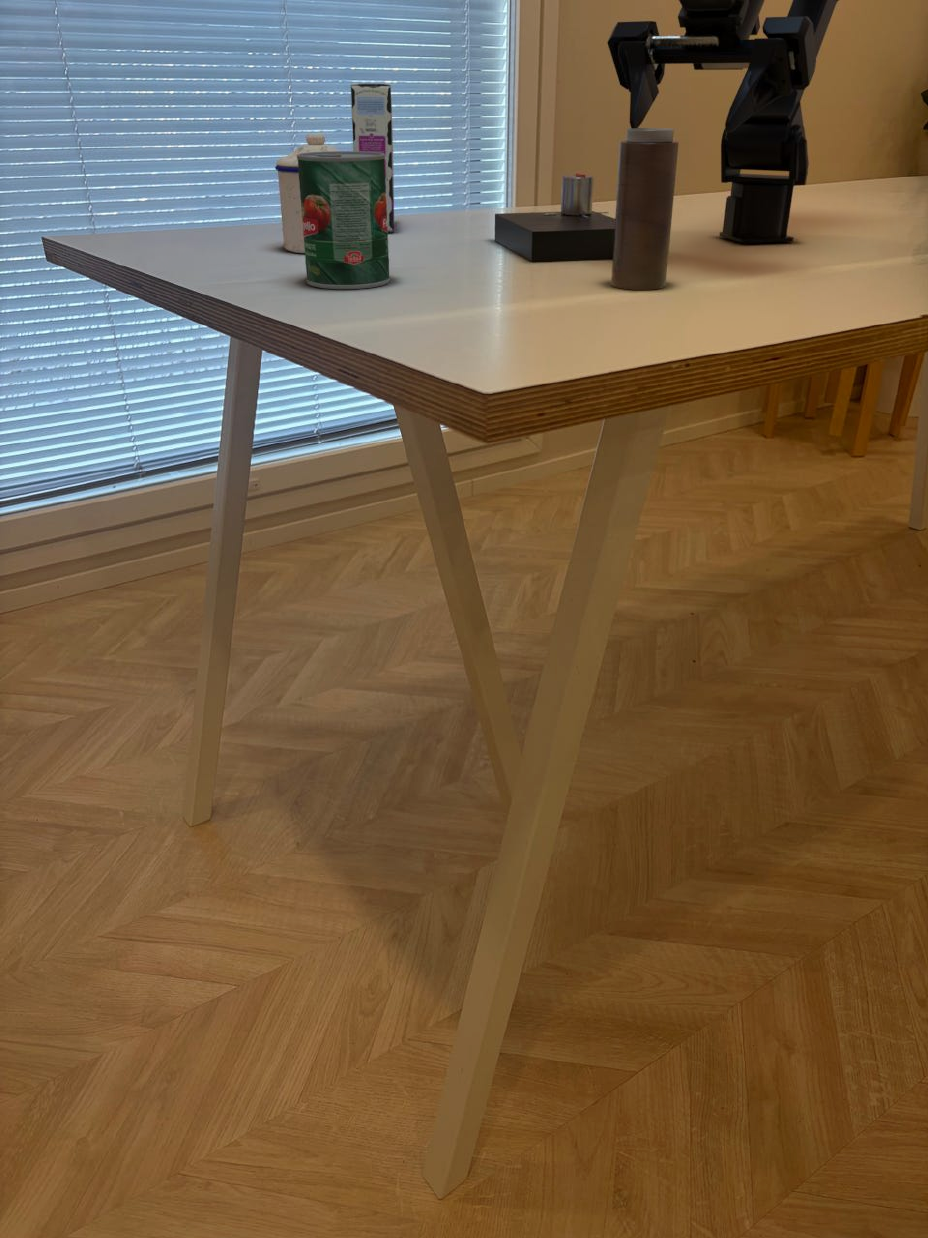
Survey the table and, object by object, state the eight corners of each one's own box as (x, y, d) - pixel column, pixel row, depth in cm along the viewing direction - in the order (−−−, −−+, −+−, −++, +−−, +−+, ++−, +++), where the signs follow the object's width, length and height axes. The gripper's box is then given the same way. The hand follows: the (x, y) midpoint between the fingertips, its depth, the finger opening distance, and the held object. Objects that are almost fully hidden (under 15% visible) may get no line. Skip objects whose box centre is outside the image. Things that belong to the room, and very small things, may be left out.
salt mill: (653, 279, 95) (666, 127, 88) (674, 288, 90) (689, 129, 84) (603, 281, 94) (612, 127, 87) (622, 291, 89) (633, 130, 83)
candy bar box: (396, 233, 123) (391, 83, 115) (356, 233, 123) (348, 83, 115) (394, 221, 133) (389, 82, 125) (357, 222, 133) (350, 83, 125)
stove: (595, 235, 121) (597, 207, 119) (647, 257, 106) (650, 225, 105) (492, 239, 118) (492, 211, 117) (531, 261, 104) (532, 229, 102)
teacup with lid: (357, 254, 108) (350, 136, 103) (274, 254, 109) (263, 136, 103) (371, 239, 119) (366, 130, 113) (296, 238, 119) (287, 130, 114)
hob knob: (556, 212, 116) (558, 172, 114) (585, 211, 117) (587, 171, 115) (566, 215, 113) (567, 174, 111) (596, 214, 114) (598, 174, 112)
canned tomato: (407, 281, 94) (403, 153, 89) (341, 292, 89) (333, 157, 84) (354, 271, 99) (348, 149, 94) (289, 281, 94) (278, 153, 89)
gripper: (623, -80, 91) (562, 56, 88) (830, -98, 82) (769, 52, 79) (649, 23, 101) (595, 149, 98) (837, 17, 92) (783, 155, 89)
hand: (678, 127), depth 91 cm, fingers open, 9 cm apart
